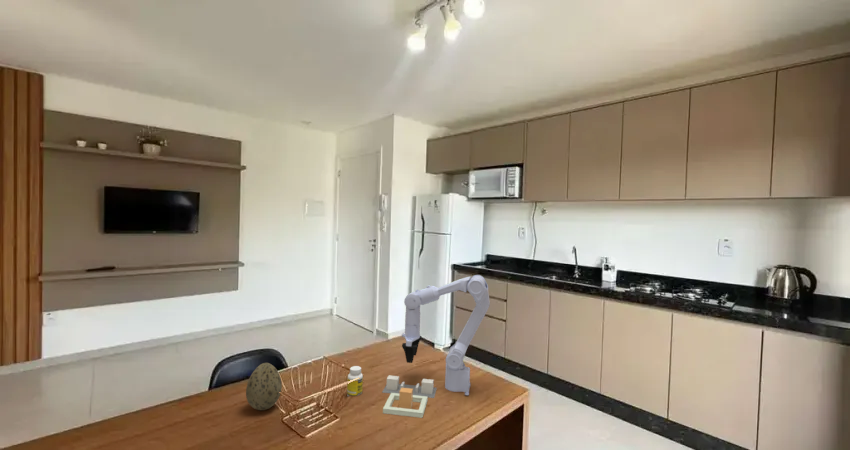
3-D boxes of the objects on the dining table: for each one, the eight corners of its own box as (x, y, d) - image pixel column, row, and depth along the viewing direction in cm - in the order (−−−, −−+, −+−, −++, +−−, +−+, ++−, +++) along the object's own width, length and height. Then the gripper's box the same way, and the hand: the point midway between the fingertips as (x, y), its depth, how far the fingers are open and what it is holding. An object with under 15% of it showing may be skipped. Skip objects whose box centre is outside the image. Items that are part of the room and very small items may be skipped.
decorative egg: (285, 410, 121) (286, 365, 121) (249, 420, 115) (250, 373, 114) (276, 397, 130) (276, 354, 130) (242, 406, 123) (243, 361, 123)
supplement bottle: (358, 399, 130) (359, 372, 130) (344, 397, 131) (345, 370, 131) (364, 392, 135) (365, 366, 135) (350, 390, 136) (351, 364, 136)
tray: (427, 403, 129) (427, 396, 129) (422, 420, 118) (422, 413, 118) (390, 399, 131) (391, 392, 131) (382, 416, 120) (382, 408, 120)
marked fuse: (412, 406, 126) (412, 388, 125) (410, 410, 123) (411, 392, 122) (400, 404, 126) (401, 387, 126) (398, 409, 123) (399, 391, 123)
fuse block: (436, 390, 139) (437, 377, 139) (434, 400, 131) (434, 386, 131) (387, 385, 142) (387, 372, 142) (381, 395, 134) (382, 381, 134)
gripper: (406, 317, 151) (405, 351, 151) (398, 328, 136) (397, 365, 137) (423, 319, 150) (422, 352, 150) (417, 329, 135) (416, 366, 136)
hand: (411, 358), depth 143 cm, fingers open, 7 cm apart
